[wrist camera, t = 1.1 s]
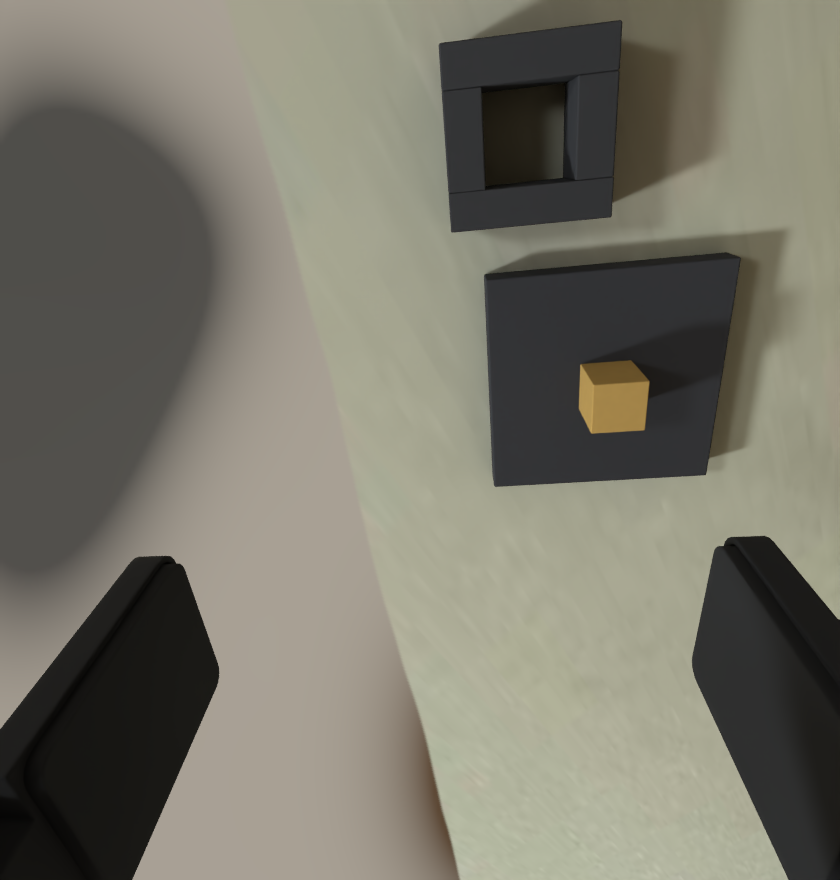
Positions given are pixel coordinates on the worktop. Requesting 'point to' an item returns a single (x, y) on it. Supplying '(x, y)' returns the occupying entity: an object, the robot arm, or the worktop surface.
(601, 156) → the black hole pad
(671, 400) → the charcoal stud pad
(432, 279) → the worktop surface
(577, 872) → the worktop surface
